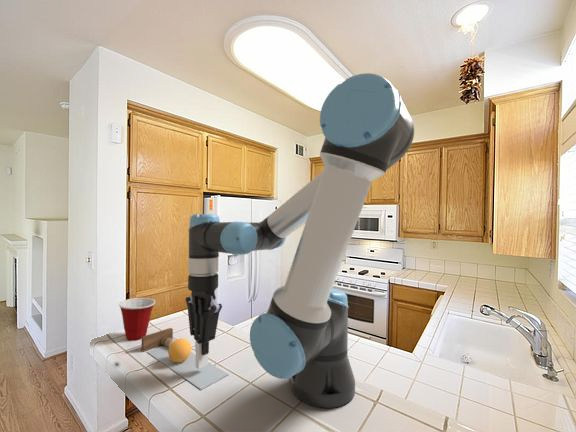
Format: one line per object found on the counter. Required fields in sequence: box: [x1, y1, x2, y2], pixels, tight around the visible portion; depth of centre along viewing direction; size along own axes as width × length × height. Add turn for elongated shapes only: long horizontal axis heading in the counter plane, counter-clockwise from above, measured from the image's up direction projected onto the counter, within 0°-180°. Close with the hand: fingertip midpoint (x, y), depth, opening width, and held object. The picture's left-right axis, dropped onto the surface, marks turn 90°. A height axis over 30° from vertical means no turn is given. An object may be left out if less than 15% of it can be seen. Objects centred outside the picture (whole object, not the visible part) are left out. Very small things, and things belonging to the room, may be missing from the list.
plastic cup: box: [118, 297, 156, 342], centre depth 88 cm, size 11×11×12 cm
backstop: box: [140, 327, 174, 353], centre depth 82 cm, size 2×9×4 cm, turn 142°
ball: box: [168, 337, 192, 363], centre depth 73 cm, size 6×6×6 cm
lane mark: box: [146, 345, 230, 391], centre depth 72 cm, size 28×8×1 cm, turn 52°
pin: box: [161, 336, 176, 347], centre depth 81 cm, size 2×2×8 cm
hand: (201, 365), depth 67 cm, fingers closed
